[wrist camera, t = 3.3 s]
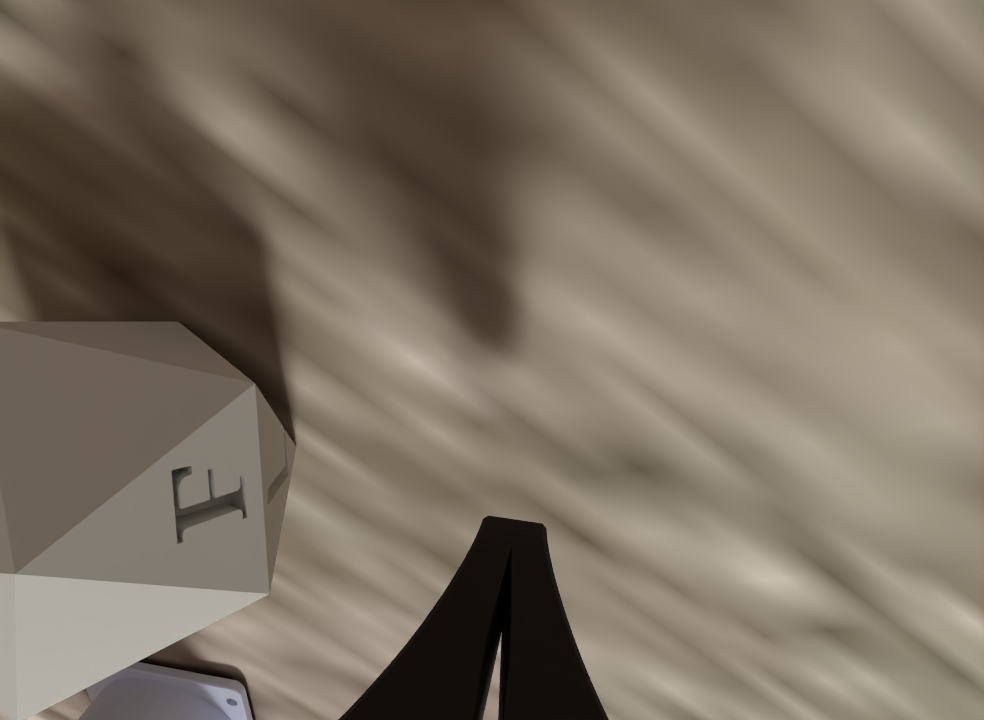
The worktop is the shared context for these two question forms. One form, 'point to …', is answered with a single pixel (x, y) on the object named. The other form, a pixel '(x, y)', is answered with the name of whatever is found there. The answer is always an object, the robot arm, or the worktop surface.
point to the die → (125, 499)
